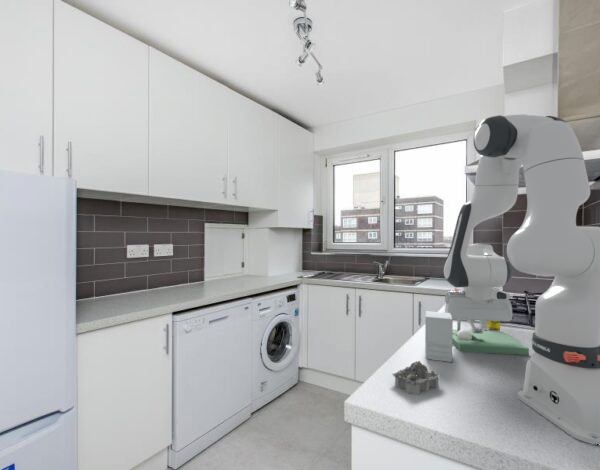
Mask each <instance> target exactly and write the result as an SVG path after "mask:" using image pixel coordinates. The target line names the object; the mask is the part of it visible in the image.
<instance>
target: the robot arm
mask: <svg viewBox="0 0 600 470" xmlns="http://www.w3.org/2000/svg"><path fill="white" fill-rule="evenodd" d="M473 146H474V149H475V150H476V153H478V154H479V155H480V157H479V159H478V164H477V168H476V172H475V173H476V174H475V179H474V189H473V193H472V195H471V198H470V199H469V200H468V202H466V203H464V204H463V205H461V208H460V210H459V213H458V216H457V219H456V224H455V226H454V231H453V236H452V238H451V239H452V240H451V244H450V247H449V251H448V254H447V257H446V259H445V263H444V266H443V275H444V276H443V277H444V279H445V280H446V282H448V283H449V284H450V285H452V287H454V288H462V290H461V291H456V292H455V290H454V291H453V290H450V291H448V292H447V293H445V297H444V298H445V299H444V301H445V307H444V313H450V314H451V317H452V319H453V320H457V319H459V320H463V321H467V322H468V323H469V326H470V327H471V330H472V333H480V334H483V331H484V329H483V328H484V327H485V326H486V324H487V321H500V322H508V323H509V322H510V321H512V319H513V306H512V303H511V301H510V299H511V295H510V293H509V292H506V291H503V290H501V289H499V288H501V287H505V286H506V285H507V284H508V283H510V281H511V280H512V276H513V268H514V269H515V270H517V271H518V272H520V273H525V274H528V275H534V276H538V277H554V279H553V281H552V282H551V285H550V286H549V287H548V289H547V290H546V291H545V292H544V293H542V294H540V296H539V297H538V298H537V299H536V301H535V306H534V307H535V308H534V309H535V317H534V320H535V321H534V332H533V333H532V337H531V348H532V350H533V352H532V355H531V356H530V357H529V359H528V360H527V362H526V365H525V374H524V379H523V389H522V390H520V391H518V393H517V399H518V400H520V401H522V402H523V403H524V404H526V405H527V406H528V407H530V408H531V409H532V410H534V411H535V412H537V413H538V414H540V415H541V416H542V417H544V418H545V419H547V420H548V421H550V422H551V423H552V424H554V425H555V426H557V427H558V428H559V429H561V430H562V431H564V432H566V433H567V434H568V435H570V436H571V437H573V438H575V439H577V440H579V441H581V442H585V443H588V444H592V445H595V444H596V445H597V444H600V227H599V226H581V225H580V226H578V225H577V213H578V211H579V207H580V206H582V205H583V204H584V203H586V202H587V201H588V200H589V198H590V196H591V188H590V183H589V178H588V173H587V169H586V162H585V159H584V154H583V151H582V148H581V145H580V142H579V139H578V137H577V135H576V133H575V131H574V130H573V127H572V126H571V125H570V124H569V123H568V122H567V121H566V120H564V119H562V118H560V117H557V116H553V115H546V116H543V115H531V114H530V115H528V114H507V115H493V116H490V117H487V118H484V119H483V120H482V121H481V122H480V123H479V124H478V126H477V127H476V130H475V131H474V134H473ZM521 167H522V171H523V178H524V185H525V193H526V199H527V200H526V201H527V206H526V212H525V217H524V219H523V222H522V224H521V225H520V227H519V228H518V230H516V231H515V232H514V233H513V234H512V235H511V236H510V238H509V240H508V242H507V246H506V255H507V256H506V257H507V259H508V260H507V259H506V258H505V257H504V256H501V255H498V253H496V252H495V251H494V247H493V245H491V244H489V243H471V244H470V239H471V236H472V232H473V230H474V229H475V227H476V226H477V225H479V224H481V223H482V222H485V221H487V220H490V219H493V218H495V217H499V216H501V215H503V214H505V213H507V212H509V210H511V209H512V208H513V207H514V206H515V204H516V203H517V199H518V195H519V183H520V180H519V179H520V169H521ZM476 321H479V325H478V326H475V324H476ZM597 446H598V445H597Z"/></svg>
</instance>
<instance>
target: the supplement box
mask: <svg viewBox="0 0 600 470" xmlns="http://www.w3.org/2000/svg"><path fill="white" fill-rule="evenodd" d="M424 321H425V322H424V323H425V325H424V326H425V327H424V328H425V333H424V335H425V338H424V339H425V342H424V343H425V345H424V350H425V351H424V352H425V359H427V360H435V361H441V362H449V363H452V362H453V344H452V331H453V330H454V329H453V326H454V325H453V322H454V319H452V317H451V314H450V313H445V312H442V311H441V312H440V311H438V312H437V311H431V310H430V311H429V310H426V311H425V319H424Z"/></svg>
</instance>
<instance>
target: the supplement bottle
mask: <svg viewBox="0 0 600 470" xmlns="http://www.w3.org/2000/svg"><path fill="white" fill-rule="evenodd" d="M483 331H495V332H501V321H487V324H486V326H485V327H484V328H483Z"/></svg>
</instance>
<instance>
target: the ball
mask: <svg viewBox="0 0 600 470" xmlns="http://www.w3.org/2000/svg"><path fill="white" fill-rule="evenodd" d="M468 330H469V329H465V328H463V329H460V330H459V331H458V333H457V337H458V338H459V339H463V340H471V339H472V335H471V333H470V332H469V331H468Z"/></svg>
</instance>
